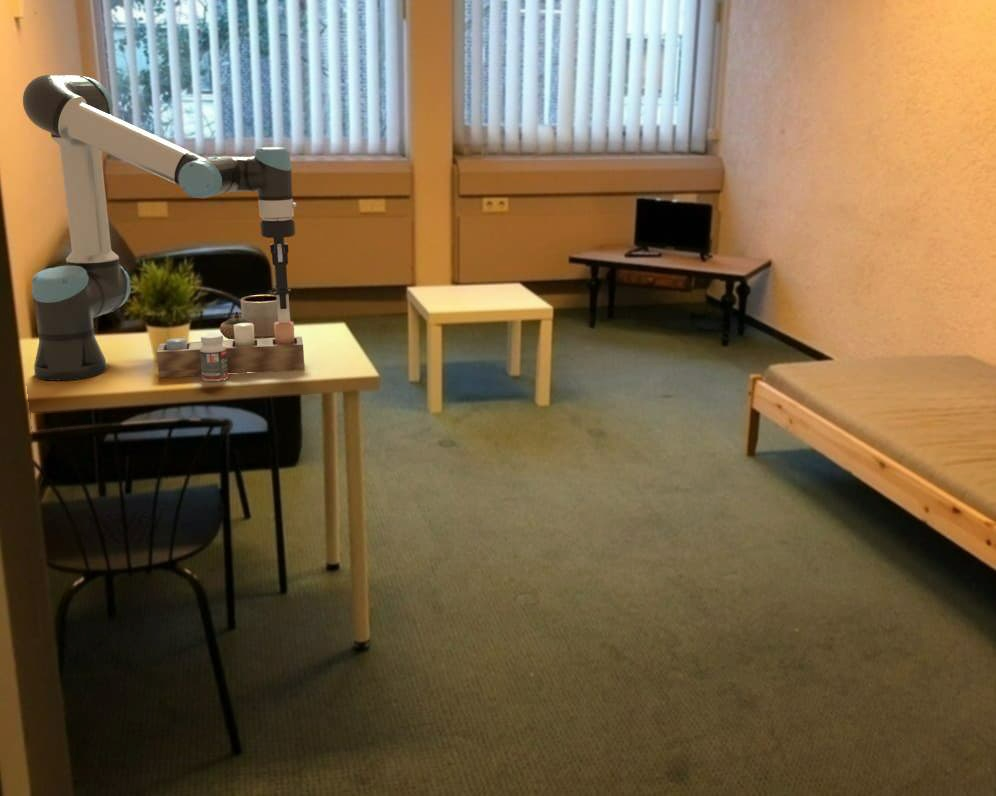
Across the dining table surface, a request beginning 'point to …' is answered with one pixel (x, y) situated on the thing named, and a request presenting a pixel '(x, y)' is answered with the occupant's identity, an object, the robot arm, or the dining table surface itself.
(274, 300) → the planter
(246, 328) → the cream block
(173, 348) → the grey cylinder
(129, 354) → the dining table surface
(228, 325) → the acorn
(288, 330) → the pink cylinder
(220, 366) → the pill bottle
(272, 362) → the wooden slotted rack
